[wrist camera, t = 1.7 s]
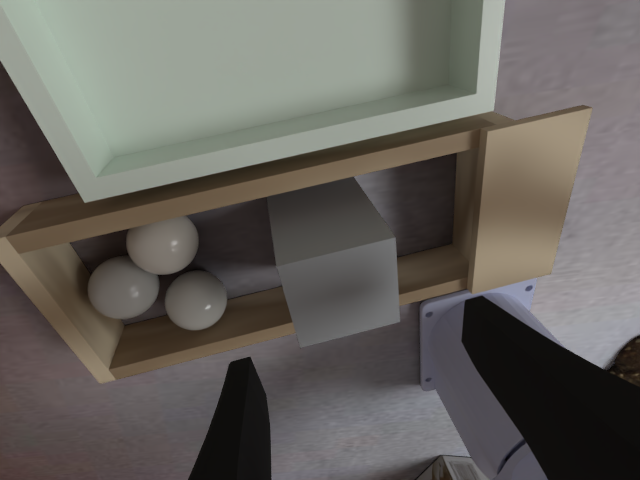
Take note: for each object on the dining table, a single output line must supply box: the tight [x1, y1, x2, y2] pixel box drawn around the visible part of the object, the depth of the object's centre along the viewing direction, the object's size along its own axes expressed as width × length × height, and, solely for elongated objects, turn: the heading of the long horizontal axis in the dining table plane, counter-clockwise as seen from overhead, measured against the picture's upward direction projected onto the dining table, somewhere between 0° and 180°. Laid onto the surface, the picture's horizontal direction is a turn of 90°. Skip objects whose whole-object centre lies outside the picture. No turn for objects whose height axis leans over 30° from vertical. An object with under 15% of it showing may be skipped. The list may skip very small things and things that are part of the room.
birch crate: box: [0, 105, 592, 384], centre depth 18 cm, size 9×24×4 cm, turn 100°
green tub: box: [0, 0, 505, 203], centre depth 13 cm, size 9×16×3 cm, turn 99°
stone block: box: [267, 177, 400, 348], centre depth 17 cm, size 4×4×6 cm
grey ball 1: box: [88, 255, 160, 319], centre depth 17 cm, size 3×3×3 cm
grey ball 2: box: [165, 270, 227, 330], centre depth 18 cm, size 3×3×3 cm
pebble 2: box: [126, 216, 199, 275], centre depth 16 cm, size 3×3×3 cm
